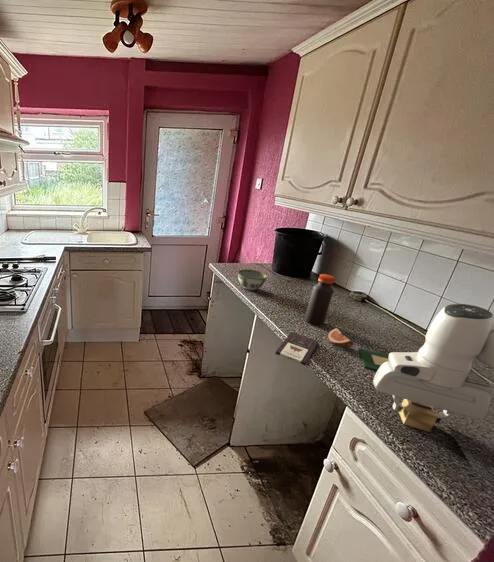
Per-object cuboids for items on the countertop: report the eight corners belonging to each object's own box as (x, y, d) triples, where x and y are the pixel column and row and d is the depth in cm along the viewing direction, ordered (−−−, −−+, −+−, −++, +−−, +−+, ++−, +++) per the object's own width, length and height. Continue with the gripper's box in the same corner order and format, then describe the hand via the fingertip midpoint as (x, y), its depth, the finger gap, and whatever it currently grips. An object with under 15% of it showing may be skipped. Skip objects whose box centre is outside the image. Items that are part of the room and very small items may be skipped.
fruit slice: (355, 353, 106) (359, 340, 105) (335, 351, 107) (339, 339, 105) (341, 340, 114) (345, 328, 112) (322, 338, 115) (326, 326, 113)
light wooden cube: (422, 418, 80) (431, 402, 78) (429, 432, 75) (438, 415, 74) (398, 411, 82) (405, 395, 80) (403, 424, 78) (411, 407, 76)
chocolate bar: (318, 341, 111) (305, 362, 98) (317, 343, 111) (305, 365, 99) (291, 331, 116) (275, 351, 104) (290, 333, 117) (275, 353, 104)
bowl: (259, 284, 164) (262, 270, 161) (267, 294, 152) (271, 279, 149) (232, 282, 165) (235, 268, 162) (239, 292, 153) (242, 277, 150)
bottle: (326, 323, 126) (340, 277, 119) (318, 327, 122) (333, 280, 115) (308, 316, 131) (321, 272, 124) (301, 320, 127) (313, 275, 120)
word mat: (441, 369, 99) (442, 367, 99) (457, 392, 90) (458, 390, 89) (358, 349, 109) (358, 347, 109) (364, 367, 99) (365, 365, 99)
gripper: (493, 377, 71) (466, 423, 76) (382, 350, 80) (364, 393, 85) (508, 393, 66) (478, 441, 71) (388, 363, 75) (369, 408, 80)
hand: (415, 415), depth 78 cm, fingers open, 6 cm apart
